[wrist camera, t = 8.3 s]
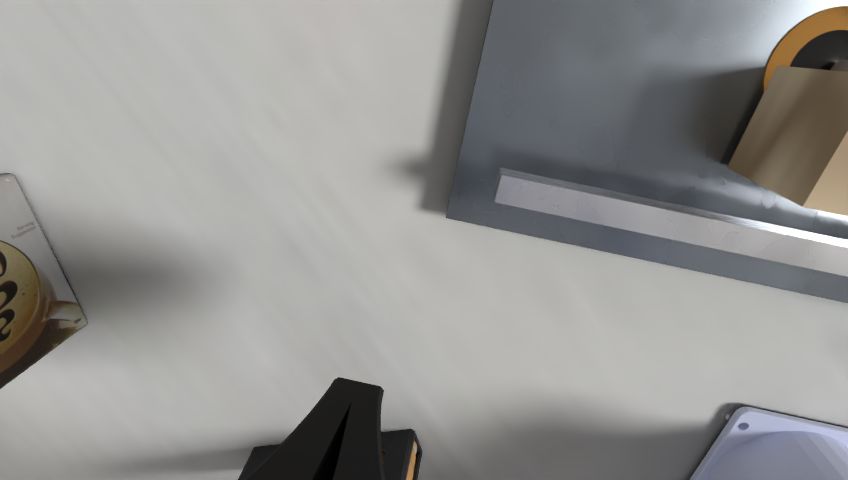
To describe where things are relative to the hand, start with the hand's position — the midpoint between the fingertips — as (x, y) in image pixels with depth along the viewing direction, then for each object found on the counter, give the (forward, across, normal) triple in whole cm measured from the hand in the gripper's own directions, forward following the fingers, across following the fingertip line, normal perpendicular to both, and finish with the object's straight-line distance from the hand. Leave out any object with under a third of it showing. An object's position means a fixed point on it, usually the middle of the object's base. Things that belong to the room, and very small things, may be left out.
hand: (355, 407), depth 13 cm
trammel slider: (+8, -13, -9) cm, 18 cm away
